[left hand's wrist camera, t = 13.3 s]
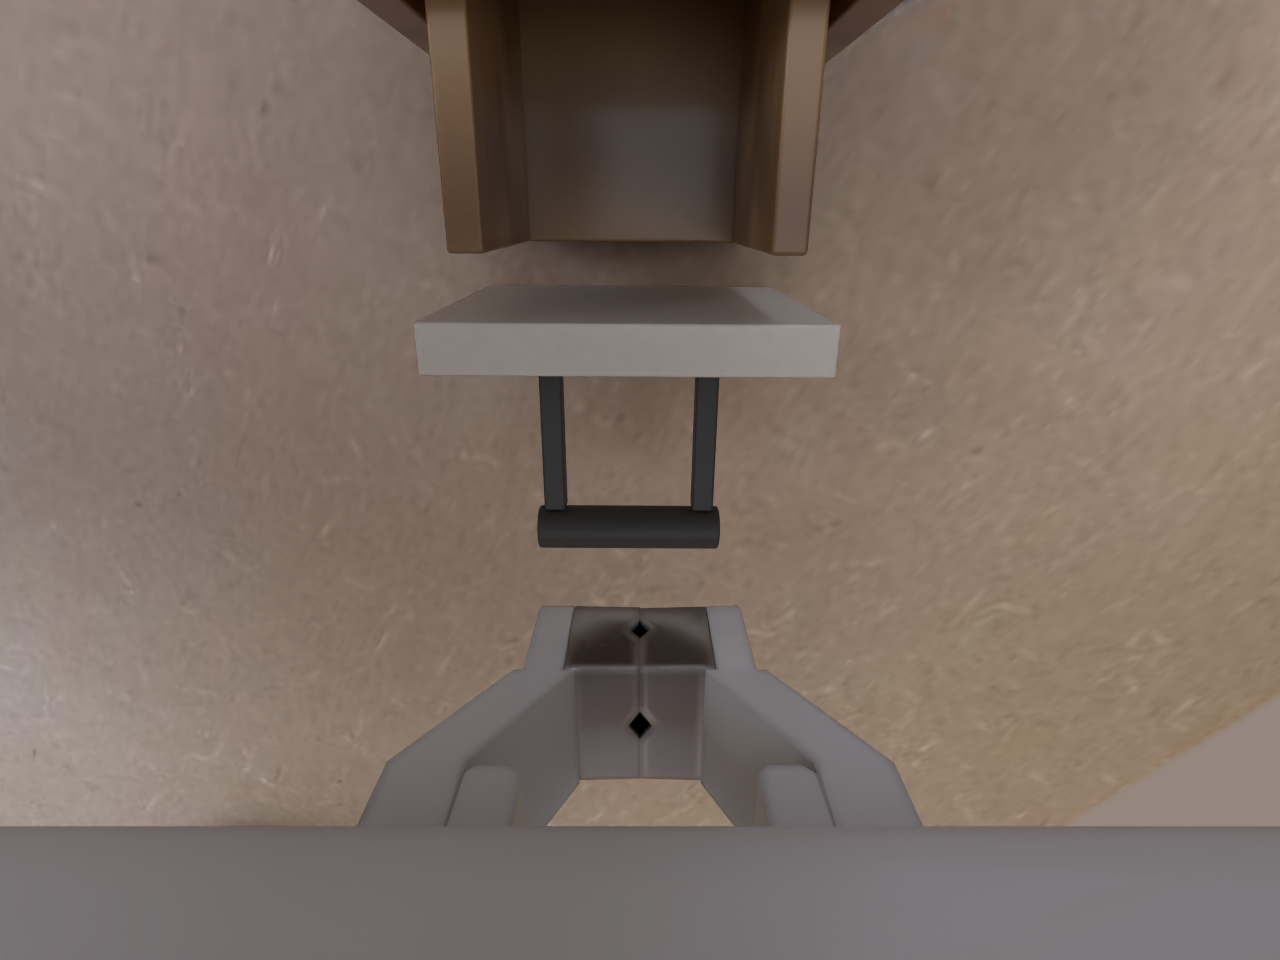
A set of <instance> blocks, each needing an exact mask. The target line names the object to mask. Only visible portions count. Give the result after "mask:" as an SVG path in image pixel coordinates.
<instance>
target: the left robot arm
mask: <svg viewBox="0 0 1280 960" xmlns="http://www.w3.org/2000/svg"><path fill="white" fill-rule="evenodd" d="M632 778H646V779H682V780H701V784H702V785H703V786H704V788H705V789H706V790H707V792H708V793H709V794H710V795H711V797H712V798H713V799H714V801H715V802H716V803H717V804H718V806H719V807H720V808H721V810H722V811H723V812H724V813H725V815H726V816H727V817H728V819H729V820H730V821H731V822H732V824H733V825H734V826H546V825H547V824H548V823H549V822H550V820H551V819H552V818H553V816H554V815H555V814H556V813H557V811H558V810H559V809H560V808H561V806H562V805H563V804H564V802H565V801H566V800H567V799H568V797H569V796H570V795H571V793H572V792H573V791H574V790H575V788H576V787H577V786H578V785H579V780H597V779H632ZM0 960H1280V827H1161V826H1157V827H1156V826H1154V827H1152V826H1151V827H1150V826H1147V827H1146V826H1138V827H1137V826H923V825H922V822H921V820H920V818H919V816H918V814H917V812H916V809H915V807H914V805H913V803H912V801H911V799H910V796H909V794H908V792H907V790H906V788H905V786H904V783H903V781H902V779H901V777H900V775H899V773H898V770H897V768H896V766H895V764H894V763H893V762H892V761H891V760H889V759H888V758H887V757H885V756H884V755H883V754H881V753H880V752H878V751H877V750H876V749H874V748H873V747H872V746H870V745H869V744H867V743H866V742H865V741H863V740H862V739H861V738H859V737H858V736H856V735H855V734H854V733H852V732H851V731H850V730H848V729H847V728H845V727H844V726H843V725H841V724H840V723H839V722H837V721H836V720H834V719H833V718H832V717H830V716H829V715H828V714H826V713H825V712H823V711H822V710H821V709H819V708H818V707H817V706H815V705H814V704H812V703H811V702H810V701H808V700H807V699H806V698H804V697H803V696H802V695H800V694H799V693H797V692H796V691H795V690H793V689H792V688H791V687H789V686H788V685H786V684H785V683H784V682H782V681H781V680H780V679H778V678H777V677H775V676H774V675H773V674H771V673H770V672H769V671H767V670H757V669H756V666H755V662H754V658H753V654H752V650H751V646H750V643H749V639H748V635H747V631H746V627H745V624H744V620H743V616H742V612H741V608H739V607H738V606H712V607H674V608H640V607H589V606H576V607H574V606H542V607H541V608H540V609H539V611H538V615H537V619H536V623H535V627H534V631H533V634H532V638H531V642H530V646H529V650H528V654H527V658H526V662H525V665H524V669H523V670H513V671H511V672H510V673H509V674H507V675H506V676H505V677H503V678H502V679H500V680H499V681H498V682H496V683H495V684H494V685H492V686H491V687H489V688H488V689H487V690H485V691H484V692H482V693H481V694H480V695H478V696H477V697H476V698H474V699H473V700H471V701H470V702H469V703H467V704H466V705H465V706H463V707H462V708H460V709H459V710H458V711H456V712H455V713H454V714H452V715H451V716H449V717H448V718H447V719H445V720H444V721H442V722H441V723H440V724H438V725H437V726H436V727H434V728H433V729H431V730H430V731H429V732H427V733H426V734H425V735H423V736H422V737H420V738H419V739H418V740H416V741H415V742H414V743H412V744H411V745H409V746H408V747H407V748H405V749H404V750H402V751H401V752H400V753H398V754H397V755H396V756H394V757H393V758H391V759H390V760H389V761H387V763H386V765H385V767H384V769H383V771H382V773H381V775H380V778H379V780H378V782H377V784H376V786H375V788H374V790H373V793H372V795H371V797H370V799H369V801H368V803H367V805H366V807H365V810H364V812H363V814H362V816H361V818H360V820H359V822H358V825H357V826H0Z"/></svg>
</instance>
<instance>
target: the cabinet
mask: <svg viewBox="0 0 1280 960" xmlns="http://www.w3.org/2000/svg"><path fill="white" fill-rule="evenodd" d="M357 1H359V2H360V3H361V4H363V5H364V6H365V7H367V8H368V9H369V10H371V11H372V12H373V13H375V14H376V15H377V16H378V17H380V18H381V19H382V20H384V21H385V22H386V23H388V24H389V25H390V26H392V27H393V28H394V29H396V30H397V31H398V32H400V33H401V34H402V35H404V36H405V37H406V38H408V39H409V40H410V41H412V42H413V43H414V44H416V45H417V46H418V47H420V48H421V49H422V50H424V51H425V52H426V53H428V54H429V43H428V32H427V21H426V10H425V0H357ZM903 1H904V0H830V11H829V21H828V32H827V43H826V54H825V63H827V62H828V61H829V60H830V59H832V58H833V57H834V56H835V55H837V54H838V53H839V52H840V51H842V50H843V49H844V48H845V47H847V46H848V45H849V44H850V43H852V42H853V41H854V40H855V39H857V38H858V37H859V36H860V35H862V34H863V33H864V32H865V31H867V30H868V29H869V28H870V27H872V26H873V25H874V24H876V23H877V22H878V21H879V20H881V19H882V18H883V17H884V16H886V15H887V14H888V13H889V12H891V11H892V10H893V9H894V8H896V7H897V6H898V5H899V4H901V3H902V2H903ZM429 55H430V54H429Z"/></svg>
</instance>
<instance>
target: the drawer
mask: <svg viewBox="0 0 1280 960" xmlns="http://www.w3.org/2000/svg"><path fill="white" fill-rule="evenodd" d="M425 10H426V21H427V32H428V43H429V54H430V64H431V75H432V86H433V97H434V108H435V119H436V130H437V141H438V152H439V163H440V174H441V185H442V196H443V207H444V218H445V229H446V240H447V250H448V252H449V253H485V252H489V251H493V250H497V249H500V248H504V247H508V246H512V245H516V244H520V243H523V242H527V241H581V242H718V243H737V244H740V245H743V246H746V247H749V248H753V249H756V250H759V251H762V252H765V253H768V254H771V255H778V256H803V255H806V253H807V251H808V240H809V229H810V218H811V207H812V196H813V185H814V174H815V164H816V153H817V142H818V131H819V120H820V109H821V98H822V87H823V76H824V65H825V54H826V43H827V32H828V21H829V11H830V0H425ZM413 326H414V334H415V343H416V352H417V361H418V370H419V374H420V375H429V376H539V393H540V414H541V435H542V456H543V477H544V498H545V505H542V506H540V509H539V513H538V525H537V532H538V542H539V545H540V547H542V548H714V549H715V548H717V547H718V545H719V538H720V518H719V510H718V508H717V507H716V506H713V492H714V472H715V452H716V432H717V412H718V392H719V377H733V378H834V377H835V376H836V368H837V359H838V350H839V341H840V332H841V326H840V325H838V324H837V323H835V322H833V321H831V320H829V319H828V318H826V317H824V316H822V315H821V314H819V313H817V312H815V311H813V310H812V309H810V308H808V307H806V306H805V305H803V304H801V303H799V302H797V301H796V300H794V299H792V298H790V297H789V296H787V295H785V294H783V293H781V292H780V291H778V290H776V289H774V288H772V287H656V286H515V285H490V286H488V287H486V288H484V289H482V290H480V291H478V292H476V293H474V294H472V295H470V296H467V297H465V298H463V299H461V300H459V301H457V302H455V303H453V304H451V305H449V306H447V307H445V308H443V309H441V310H439V311H437V312H435V313H433V314H431V315H429V316H427V317H425V318H423V319H421V320H419V321H416V322H414V325H413ZM563 376H581V377H695V396H694V423H693V450H692V477H691V506H608V505H567V473H566V444H565V415H564V386H563Z"/></svg>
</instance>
